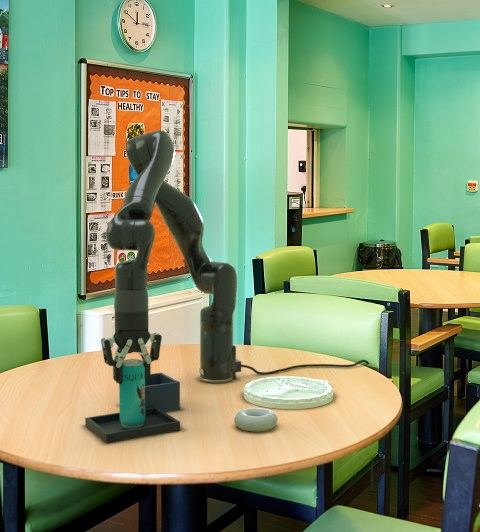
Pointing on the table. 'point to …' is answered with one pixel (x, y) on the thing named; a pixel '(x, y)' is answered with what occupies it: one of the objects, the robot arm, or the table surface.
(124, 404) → the beverage can
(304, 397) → the medallion
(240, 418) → the donut
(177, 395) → the caddy
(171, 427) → the tray
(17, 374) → the table surface
